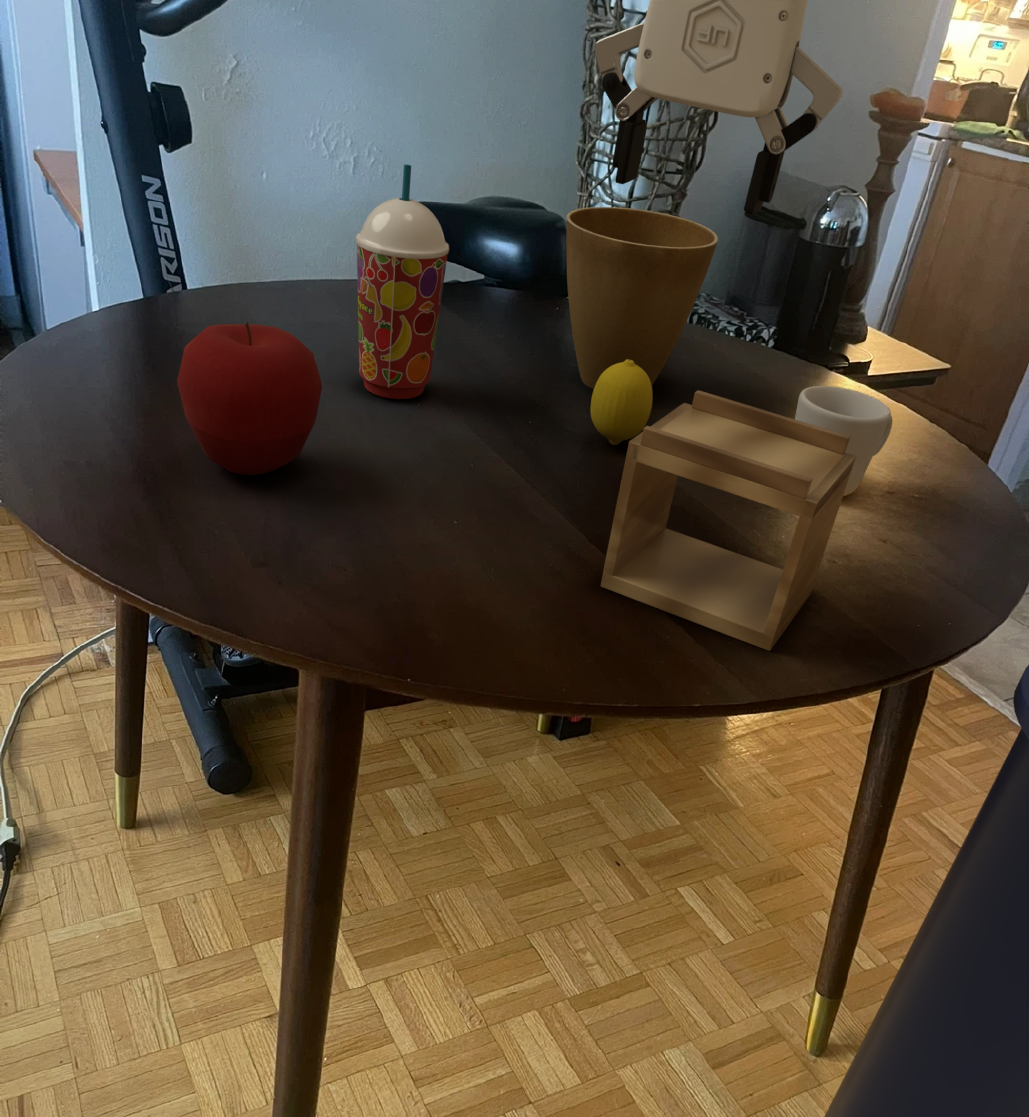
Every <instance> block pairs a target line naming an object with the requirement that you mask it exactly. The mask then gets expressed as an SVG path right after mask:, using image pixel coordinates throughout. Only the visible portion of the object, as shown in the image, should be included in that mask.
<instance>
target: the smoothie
mask: <svg viewBox="0 0 1029 1117" xmlns="http://www.w3.org/2000/svg"><path fill="white" fill-rule="evenodd" d="M402 173H403V174H402V187H401V188H402V190H401V197H396V198H391V199H388V200H386V201H384V202H382V203H380V204H379V205H377V206H376V207H375V208H373V209H372V211H370V213H369V214H368V215H367V217H366V218H365V220H364V223H363V224H362V228H361V229H360V232H358V233H356V235H355V243H356V270H357V271H356V272H357V274H356V275H357V319H358V320H357V324H358V326H357V327H358V329H357V330H358V367H359V368H358V372H359V373H358V374H359V376H360V377H361V378H362V379H363V385H364V389H365V390H367V391H368V392H370V393H371V394H373V395H374V396H376V397H377V396H378V397H381V398H385V399H390V400H409V399H413V398H414V399H415V398H416V397H418V396H421V395H422V394H423V393H424V390H425V386H426V385H427V384H428V383H429V382H430V380H431V373H432V368H433V367H432V366H433V359H434V353H435V346H436V340H437V339H436V338H437V333H438V324H439V318H440V312H441V303H442V298H443V291H444V290H443V289H444V283H445V276H446V271H447V270H446V268H447V262H448V254H449V252H450V244H449V243H448V242H446V239H445V234H444V230H443V228H442V225H441V223H440V222H439V220H438V218H437V217H436V216H435V214H434V213H433V212H432V211H431V210H430V209H429V208H428V207H427V206H426V205H424V204H422V203H421V202H419V201H417V200H414V199H413V198H410V194H411V192H410V191H411V176H412V165H411V164H406V163H405V164H403V172H402Z"/></svg>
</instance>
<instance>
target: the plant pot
mask: <svg viewBox="0 0 1029 1117" xmlns="http://www.w3.org/2000/svg"><path fill="white" fill-rule="evenodd" d="M567 213H568V214H567V215H566V233H565V235H566V236H565V237H566V239H565V240H566V241H565V242H566V244H565V245H566V246H565V247H566V249H565V250H566V252H565V253H566V256H565V257H566V283H567V284H566V285H567V297H568V308H569V318H570V325H571V332H572V339H573V340H572V341H573V346H574V352H575V356H576V362H577V366H578V372H579V376H580V380H581V382H582V383H583V385H585V386H586V387H588V388H589V389H592V390H594V388H595V385H596V383H597V381H598V379H599V377H600V376H601V374H602V373H603V372H604V371H605V370H606V369H607V368H609V367H610V366H612V365H614V364H617V363H621V362H624V361H625V360H632V361H633V362H634V363H635V365H637V366H639V367H640V368H641V369H643V370H644V371H645V373H646V374H647V375H648V377H649V379H650V382H651V385H652V386H653V385H654V383H655V382H656V380H657V378H658V377H659V375H660V374H661V372H662V370H663V368H664V366H665V365H666V363H667V361H668V360H669V358H670V356H671V354H672V353H673V351H674V348H675V346H676V345H677V342H678V341H679V338H680V336H681V334H682V333H683V330H684V329H685V326H686V324H687V322H688V319H689V317H690V315H691V314H692V311H693V308H694V307H695V304H696V301H697V299H698V296H699V294H700V292H701V289H702V286H703V284H704V281H705V279H706V277H707V274H708V271H709V268H710V265H711V262H712V259H713V256H714V254H715V250H716V248H717V244H718V242H719V237H718V235H717V234H716V232H715V231H713V230H712V229H710V228H709V227H708V226H705V225H703V224H701V223H698V222H696V221H693V220H690V219H686V218H683V217H680V216H677V215H672V214H668V213H662V212H657V211H651V210H647V209H638V208H630V207H629V208H628V207H618V206H617V207H616V206H593V207H592V206H590V207H582V208H577V209H574V210H571V211H569V212H567Z"/></svg>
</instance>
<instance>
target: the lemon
mask: <svg viewBox="0 0 1029 1117" xmlns="http://www.w3.org/2000/svg"><path fill="white" fill-rule="evenodd" d="M653 397H654V396H653V385H651V382H650V379H649V377H648V375H647V374H646V373H645V371H644V370H643V369H641V368H640V367H639V366H637V365H635V363H634V362H633V361H632V360H625V361H624V362H621V363H617V364H614V365H612V366H610V367H609V368H607V369H606V370H605V371H604V372H603V373H602V374H601V376H600V377H599V379H598V381H597V383H596V385H595V388H594V389H593V391H592V395H591V401H590V417H591V421H592V424H593V426H594V428H595V429H596V430H597V432H598V433H599V434H600V435H601V436H603V437H604V438H606V439H607V441H608V442H609V443H610V445H613V446H616V445H618V444H620V443H622V442H623V441H627V440H632V439H634V438H635V437H636V436H638V435H639V434H641V433H642V432H643V429H644V427H646V426H647V423H648V421H649V419H650V415H651V412H652V408H653V400H654V398H653Z"/></svg>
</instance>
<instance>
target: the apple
mask: <svg viewBox="0 0 1029 1117" xmlns="http://www.w3.org/2000/svg"><path fill="white" fill-rule="evenodd" d="M176 383H177V388H178V392H179V396H180V400H181V404H182V408H183V413H184V417H185V419H186V421H187V423H188V425H189V427H190V429H191V431H192V433H193V435H194V437H195V438H196V440H197V442H198V445H200V448H201V450H202V452H203V454H205V455H206V457H207V458H208V459H209V460H210V461H211V462H213V463H215V464H216V465H218V466H221V468H223V469H225V470H226V471H228V472H230V473H233V474H236V475H243V476H258V475H263V474H267V473H270V472H273V471H275V470H277V469H280V468H281V467H283V466H285V465H287V464H289V463H290V462H293V461H294V460H295V459H296V458H297V457H299V455H301V452H302V450H303V448H304V446H305V444H306V442H307V440H308V438H309V436H310V435H311V432H312V430H313V428H314V426H315V424H316V422H317V421H316V420H317V417H318V411H319V407H320V406H319V405H320V401H321V395H322V390H323V384H322V379H321V375H320V372H319V369H318V365H317V362H316V358H315V355H314V353H313V351H311V349H309V348H308V346H306V345H305V344H304V343H303V342H302V341H300V339H299V338H297V337H296V336H295V335H293V334H292V333H290V332H289V331H286V330H285V329H282V328H279V327H277V326H272V325H264V324H249V321H248V320H247V321H246V322H245V324H235V323H232V324H231V323H230V324H228V323H221V324H215V325H208V326H206V327H205V328H204V329H203V330H201V331H200V332H199V333H198V334H197V335H196V336H195V337H194V338H192V340H190V341H189V342H188V343H187V344H186V345H185V346H184V349H183V354H182V357H181V362H180V367H179V372H178V376H177V380H176Z"/></svg>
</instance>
